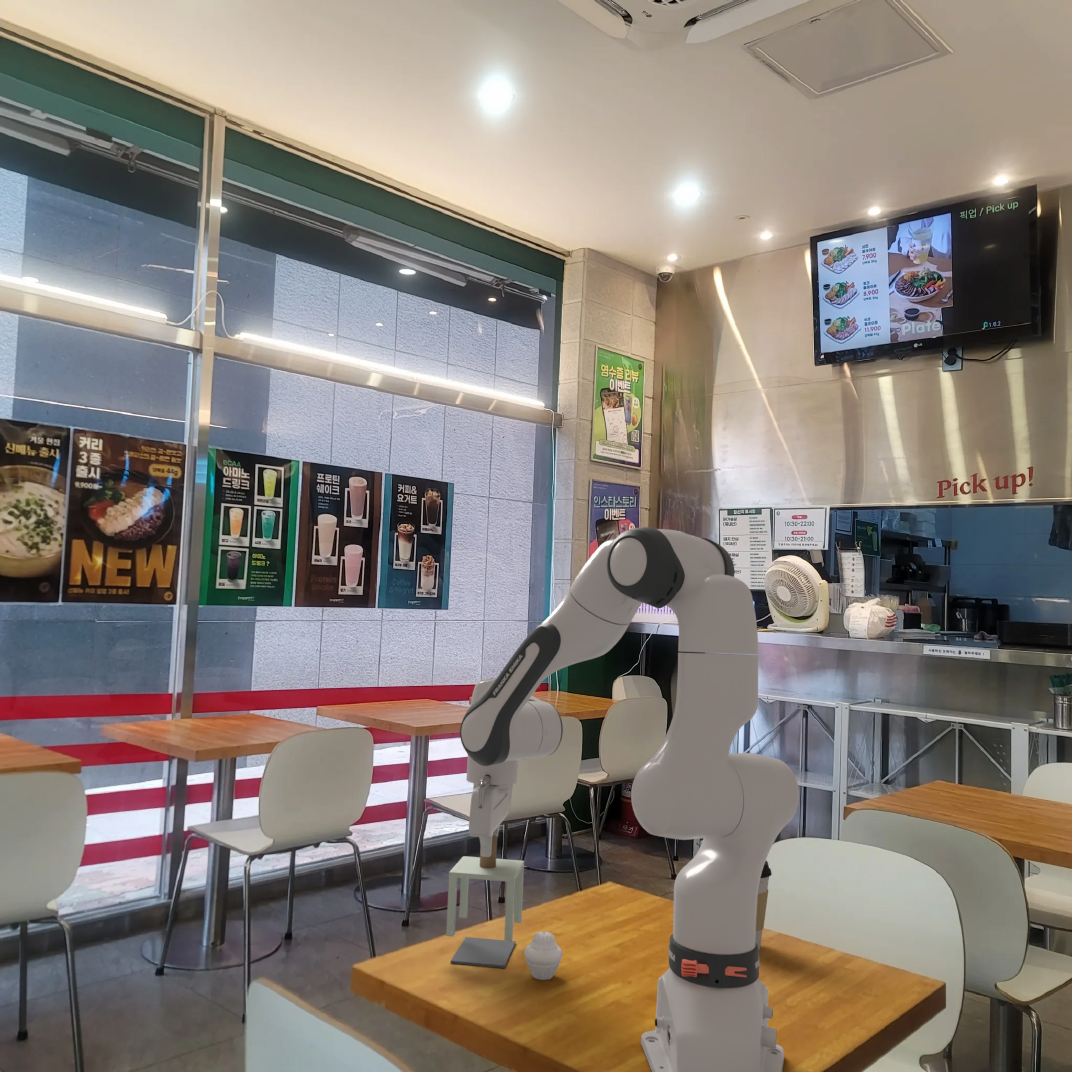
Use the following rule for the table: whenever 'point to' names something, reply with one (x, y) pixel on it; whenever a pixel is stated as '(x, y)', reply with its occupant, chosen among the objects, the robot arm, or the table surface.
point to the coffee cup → (762, 902)
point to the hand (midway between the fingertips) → (488, 853)
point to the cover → (486, 871)
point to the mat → (483, 952)
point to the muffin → (543, 956)
